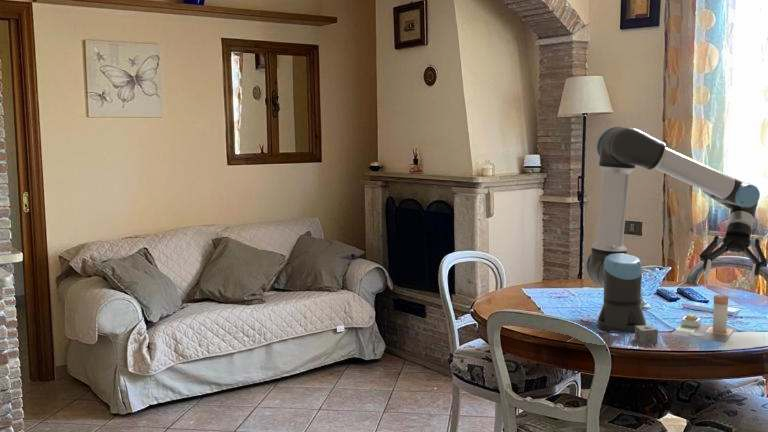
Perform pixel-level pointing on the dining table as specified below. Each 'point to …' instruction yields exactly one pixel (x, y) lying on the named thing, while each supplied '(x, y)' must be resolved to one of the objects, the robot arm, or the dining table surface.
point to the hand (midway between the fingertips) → (728, 280)
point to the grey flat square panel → (704, 333)
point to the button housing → (690, 322)
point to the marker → (720, 313)
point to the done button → (691, 317)
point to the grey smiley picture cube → (646, 334)
